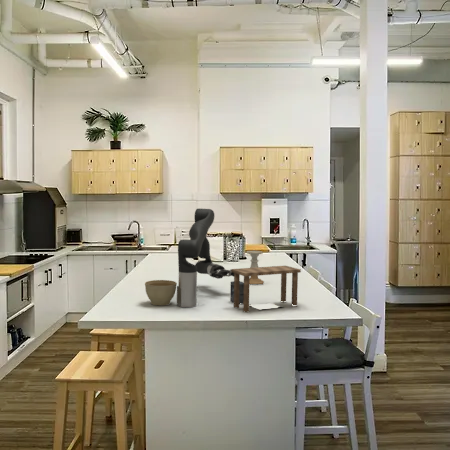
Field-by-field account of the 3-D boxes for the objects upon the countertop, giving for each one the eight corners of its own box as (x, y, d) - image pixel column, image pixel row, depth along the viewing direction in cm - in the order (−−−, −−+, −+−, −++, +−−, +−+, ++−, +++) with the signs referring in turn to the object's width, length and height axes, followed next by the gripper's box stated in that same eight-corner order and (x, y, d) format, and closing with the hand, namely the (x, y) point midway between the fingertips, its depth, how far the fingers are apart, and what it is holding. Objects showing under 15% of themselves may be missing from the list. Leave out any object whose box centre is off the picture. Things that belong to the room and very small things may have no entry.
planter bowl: (145, 307, 249) (145, 286, 248) (144, 300, 265) (144, 280, 264) (178, 306, 252) (178, 285, 251) (174, 299, 268) (175, 279, 267)
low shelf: (244, 312, 242) (245, 273, 240) (230, 306, 254) (231, 269, 253) (299, 306, 256) (300, 269, 255) (284, 301, 269) (285, 265, 267)
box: (230, 301, 266) (230, 281, 265) (239, 300, 269) (239, 280, 268) (237, 304, 259) (237, 284, 258) (246, 303, 262) (247, 283, 261)
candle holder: (240, 282, 321) (241, 250, 320) (257, 281, 327) (257, 250, 326) (250, 285, 311) (251, 253, 309) (267, 284, 316) (268, 252, 315)
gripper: (204, 265, 284) (217, 269, 270) (227, 263, 291) (240, 267, 276) (204, 278, 285) (217, 283, 270) (227, 276, 291) (240, 281, 277)
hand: (229, 275), depth 273 cm, fingers open, 8 cm apart
